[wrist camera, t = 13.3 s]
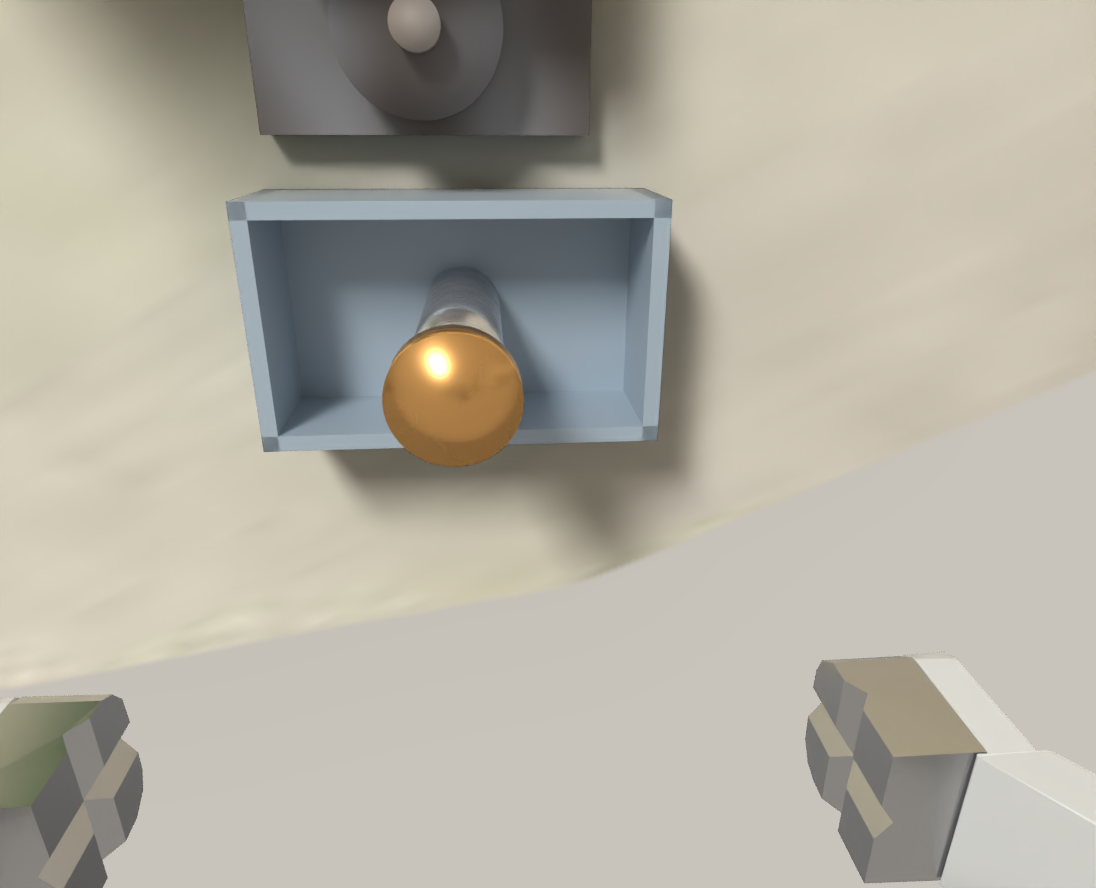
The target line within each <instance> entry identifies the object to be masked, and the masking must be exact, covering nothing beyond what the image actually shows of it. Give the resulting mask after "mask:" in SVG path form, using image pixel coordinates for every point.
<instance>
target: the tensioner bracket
mask: <svg viewBox="0 0 1096 888" xmlns="http://www.w3.org/2000/svg"><path fill="white" fill-rule="evenodd" d="M242 1H243V8H244V16H245V23H246V31H247V39H248V46H249V54H250V61H251V69H252V76H253V84H254V92H255V99H256V107H257V114H258V122H259V130H260V135H589V98H590V52H591V7H592V0H242Z"/></svg>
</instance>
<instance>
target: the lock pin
mask: <svg viewBox="0 0 1096 888" xmlns="http://www.w3.org/2000/svg"><path fill="white" fill-rule="evenodd" d="M382 406H383V413H384V416H385V419H386V422H387V424H388V427H389V429H390V431H391V432H392V434H393V435H394V437H395V438H396V439H397V440H398V442H399V443H400V444H401V445H402V446H403V447H404V448H405V449H406V450H408V451H409V452H410V453H412V454H413V455H415V456H417V457H418V458H420V459H422V460H425V461H427V462H430V463H433V464H437V465H442V466H452V467H458V466H467V465H472V464H476V463H479V462H482V461H484V460H486V459H488V458H490V457H492V456H493V455H495V454H496V453H498V452H499V451H500V450H501V449H503V448H504V447H505V446H506V445H507V444H508V442H509V441H510V440H511V439H512V437H513V436H514V434H515V433H516V431H517V429H518V427H519V424H520V421H521V419H522V414H523V408H524V395H523V387H522V381H521V376H520V372H519V369H518V367H517V364H516V362H515V360H514V358H513V357H512V355H511V354H510V352H509V351H508V350H507V349H506V348H505V346H504V344H503V334H502V324H501V314H500V304H499V297H498V293H497V290H496V288H495V286H494V284H493V283H492V282H491V280H490V279H489V278H488V277H487V276H485V275H484V274H483V273H481V272H479V271H477V270H475V269H472V268H467V267H456V268H452V269H449V270H447V271H445V272H443V273H441V274H440V275H439V276H438V277H437V278H436V279H435V280H434V281H433V282H432V284H431V286H430V288H429V290H428V293H427V296H426V300H425V303H424V306H423V310H422V313H421V316H420V320H419V323H418V326H417V329H416V333H415V336H413V337H412V338H411V339H409V340H408V341H407V342H406V343H405V344H404V345H403V346H402V347H401V348H400V350H399V351H398V352H397V354H396V355H395V357H394V358H393V360H392V363H391V365H390V367H389V370H388V373H387V376H386V378H385V382H384V386H383V392H382Z"/></svg>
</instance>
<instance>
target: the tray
mask: <svg viewBox="0 0 1096 888" xmlns="http://www.w3.org/2000/svg"><path fill="white" fill-rule="evenodd" d="M226 208H227V214H228V221H229V227H230V234H231V240H232V247H233V254H234V260H235V267H236V273H237V280H238V286H239V293H240V299H241V306H242V313H243V319H244V326H245V332H246V339H247V345H248V352H249V358H250V365H251V371H252V378H253V385H254V391H255V398H256V404H257V411H258V417H259V424H260V430H261V437H262V443H263V450H264V452H277V451H312V450H346V449H380V448H404V447H403V446H402V445H401V444H400V443H399V442H398V440H397V439H396V438H395V437H394V435H393V434H392V432H391V431H390V429H389V427H388V424H387V422H386V419H385V416H384V413H383V406H382V392H383V386H384V382H385V378H386V376H387V373H388V370H389V367H390V365H391V363H392V360H393V358H394V357H395V355H396V354H397V352H398V351H399V350H400V348H401V347H402V346H403V345H404V344H405V343H406V342H407V341H408V340H409V339H411V338H412V337H413V336H415V333H416V329H417V326H418V323H419V320H420V316H421V313H422V310H423V306H424V303H425V300H426V296H427V293H428V290H429V288H430V286H431V284H432V282H433V281H434V280H435V279H436V278H437V277H438V276H439V275H440V274H441V273H443V272H445V271H447V270H449V269H452V268H456V267H467V268H472V269H475V270H477V271H479V272H481V273H483V274H484V275H485V276H487V277H488V278H489V279H490V280H491V282H492V283H493V284H494V286H495V288H496V290H497V293H498V297H499V304H500V314H501V324H502V334H503V344H504V346H505V348H506V349H507V350H508V351H509V352H510V354H511V355H512V357H513V358H514V360H515V362H516V364H517V367H518V369H519V372H520V376H521V381H522V387H523V395H524V408H523V414H522V419H521V421H520V424H519V427H518V429H517V431H516V433H515V434H514V436H513V437H512V439H511V440H510V441H509V442H508V444H507V445H516V444H551V443H585V442H619V441H653V440H657V436H658V420H659V404H660V388H661V373H662V357H663V341H664V325H665V309H666V294H667V278H668V262H669V246H670V231H671V215H672V199H669V198H667V197H664V196H662V195H659V194H657V193H654V192H652V191H650V190H647V189H645V188H535V189H264V190H261V191H258V192H255V193H251V194H248V195H245V196H242V197H239V198H236V199H233V200H230V201H226Z"/></svg>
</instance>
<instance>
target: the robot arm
mask: <svg viewBox="0 0 1096 888" xmlns="http://www.w3.org/2000/svg"><path fill="white" fill-rule="evenodd" d="M814 690H815V691H816V693H817V695H818V697H819V698H820V700H821V702H822V703H821V704H820V705H819V706H818V707H817V708H816V709H815V710H814V711H813V712H812V713H811V714H810V715H809V716H808V723H807V730H806V738H805V740H806V749H807V758H808V764H809V767H810V770H811V774H812V777H813V780H814V783H815V785H816V787H817V789H818V791H819V793H820V795H821V797H822V799H824V800H825V801H826V802H828V803H829V804H830V805H832V806H833V807H834V808H836V809H837V810H839V811H840V812H841V818H840V823H839V829H838V832H839V834H840V836H841V838H842V840H843V842H844V844H845V846H846V848H847V850H848V852H849V854H850V856H851V858H852V860H853V862H854V864H855V866H856V868H857V870H858V872H859V874H860V876H861V877H862V880H863V881H864V883H882V882H906V881H933V880H940V885H941V886H942V887H943V888H1096V774H1094V773H1092V772H1090V771H1088V770H1086V769H1085V768H1082V767H1081V766H1079V765H1077V764H1075V763H1073V762H1071V761H1070V760H1068V759H1066V758H1064V757H1062V756H1060V755H1058V754H1056V753H1054V752H1052V751H1050V750H1048V751H1037V750H1036V749H1035V748H1034V747H1033V746H1032V745H1031V744H1030V742H1029V741H1028V740H1027V739H1026V738H1025V737H1024V735H1023V734H1022V733H1021V732H1020V731H1019V730H1018V729H1017V728H1016V726H1015V725H1014V724H1013V723H1012V722H1011V721H1010V720H1009V718H1008V717H1007V716H1006V715H1005V714H1004V713H1003V712H1002V711H1001V709H1000V708H999V707H998V706H997V705H996V704H995V703H994V701H993V700H992V699H991V698H990V697H989V696H988V694H987V693H986V692H985V691H984V690H983V689H982V688H981V687H980V685H979V684H978V683H977V682H976V681H975V680H974V679H973V678H972V676H971V675H970V674H969V673H968V672H967V671H966V669H965V668H964V667H963V666H962V665H961V664H960V663H959V662H958V660H957V659H956V658H954V657H953V656H951V655H949V654H947V653H945V652H939V653H925V654H911V655H903V656H902V657H901V656H895V657H877V658H860V659H859V658H858V659H840V660H823V661H822V662H821V664H820V665H819V667H818V669H817V670H816V676H815V681H814ZM129 723H130V721H129V718H128V715H127V712H126V709H125V706H124V703H123V700H122V699H121V698H119V697H116V696H114V695H74V696H37V697H36V696H34V697H22V698H0V888H103V886H104V884H105V882H106V880H107V874H106V871H105V868H104V864H103V861H102V860H103V859H104V858H105V857H106V856H107V855H109V854H110V853H111V852H113V851H114V850H115V849H116V848H118V847H119V846H120V845H121V844H122V843H124V842H125V841H126V840H127V838H128V835H129V833H130V831H131V829H132V827H133V825H134V823H135V821H136V818H137V815H138V810H139V806H140V801H141V797H142V792H143V776H142V767H141V762H140V758H139V754H138V752H137V751H135V750H134V749H133V748H132V747H131V746H129V745H128V744H127V743H126V742H124V741H123V740H122V739H121V736H122V735H123V733H124V731H125V730H126V728H127V726H128V724H129Z"/></svg>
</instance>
